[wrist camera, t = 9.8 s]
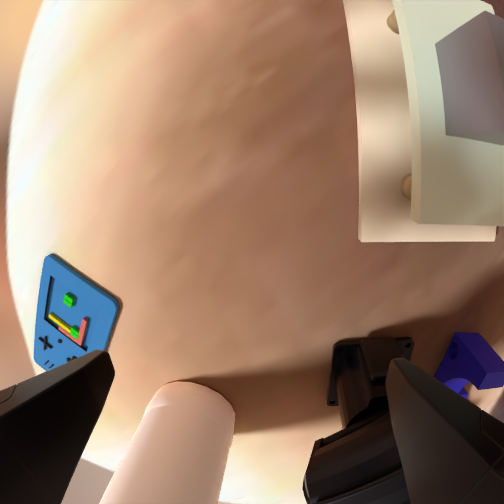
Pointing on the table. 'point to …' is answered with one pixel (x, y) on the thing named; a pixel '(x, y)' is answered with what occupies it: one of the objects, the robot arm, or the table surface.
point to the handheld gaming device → (70, 315)
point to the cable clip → (470, 364)
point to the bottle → (176, 449)
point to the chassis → (388, 133)
